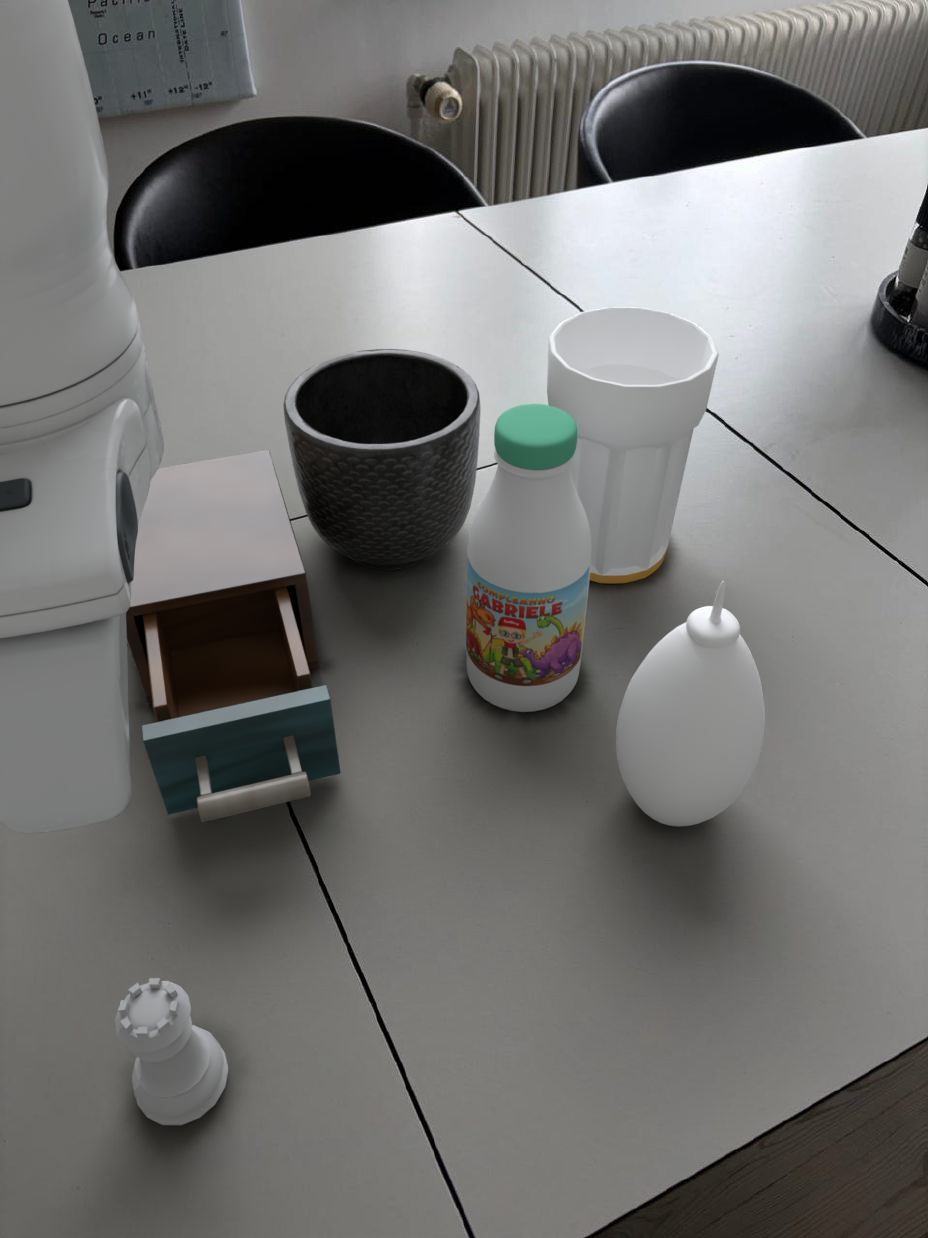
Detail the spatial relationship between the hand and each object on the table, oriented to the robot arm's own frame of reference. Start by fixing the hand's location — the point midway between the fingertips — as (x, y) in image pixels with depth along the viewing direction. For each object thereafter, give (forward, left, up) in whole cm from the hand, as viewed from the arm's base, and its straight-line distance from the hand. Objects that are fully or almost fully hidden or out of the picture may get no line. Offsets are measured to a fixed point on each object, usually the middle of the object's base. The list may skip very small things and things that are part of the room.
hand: (106, 706), depth 42 cm
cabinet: (+5, +25, -19) cm, 32 cm away
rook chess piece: (-1, -8, -19) cm, 21 cm away
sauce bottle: (+29, 0, -19) cm, 35 cm away
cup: (+35, +24, -19) cm, 47 cm away
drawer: (+5, +13, -18) cm, 23 cm away
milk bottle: (+24, +13, -19) cm, 33 cm away
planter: (+19, +30, -19) cm, 41 cm away
